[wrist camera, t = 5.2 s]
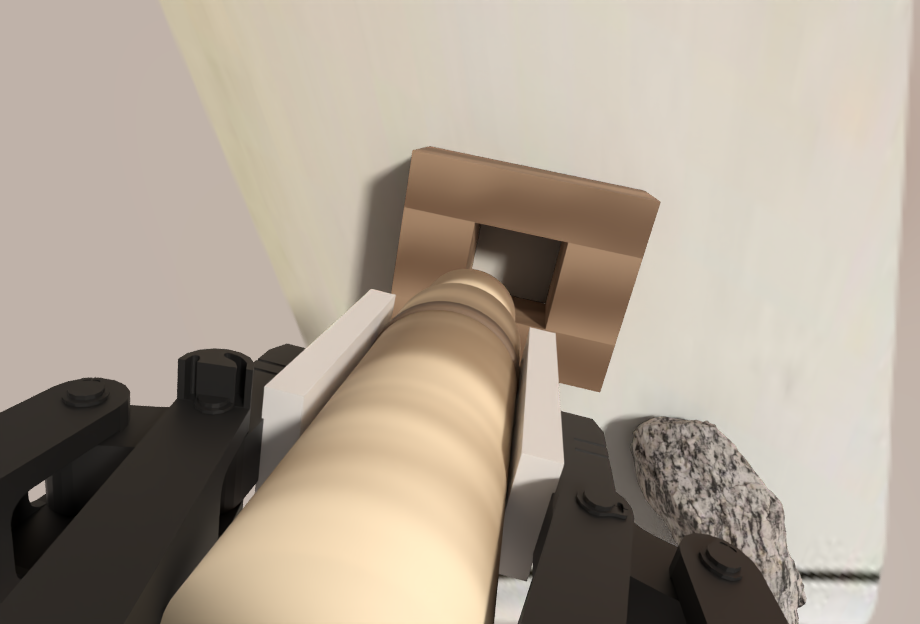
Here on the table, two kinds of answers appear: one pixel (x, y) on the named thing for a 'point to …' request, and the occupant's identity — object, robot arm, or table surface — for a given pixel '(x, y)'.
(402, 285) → the board
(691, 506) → the rock
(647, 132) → the table surface
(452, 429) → the peg
